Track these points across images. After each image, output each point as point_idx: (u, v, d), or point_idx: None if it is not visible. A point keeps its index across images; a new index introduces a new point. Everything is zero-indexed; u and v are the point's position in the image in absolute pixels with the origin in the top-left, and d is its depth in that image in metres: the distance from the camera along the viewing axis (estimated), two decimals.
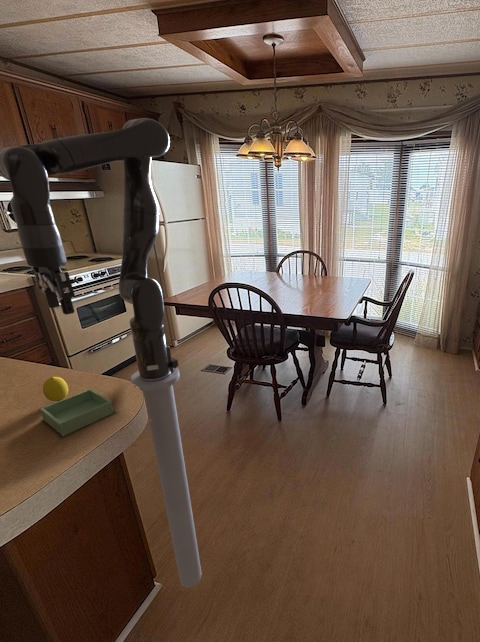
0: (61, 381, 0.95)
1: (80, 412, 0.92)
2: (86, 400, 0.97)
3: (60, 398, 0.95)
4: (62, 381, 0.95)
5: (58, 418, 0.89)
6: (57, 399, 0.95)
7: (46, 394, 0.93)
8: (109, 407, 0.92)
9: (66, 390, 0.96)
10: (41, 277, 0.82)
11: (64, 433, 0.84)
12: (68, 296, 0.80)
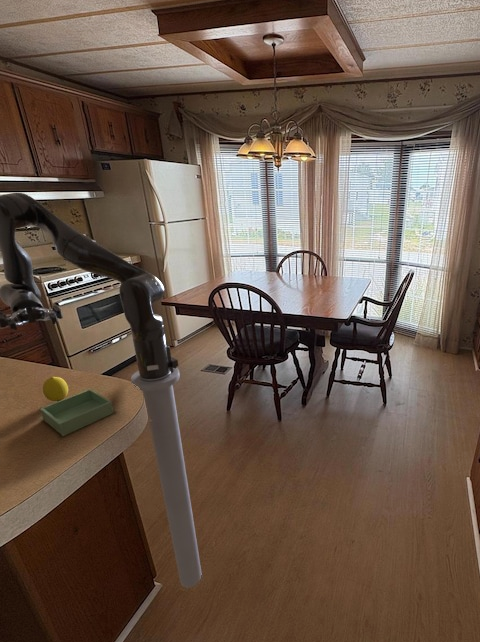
0: (61, 381, 0.95)
1: (80, 412, 0.92)
2: (86, 400, 0.97)
3: (60, 398, 0.95)
4: (62, 381, 0.95)
5: (58, 418, 0.89)
6: (57, 399, 0.95)
7: (46, 394, 0.93)
8: (109, 407, 0.92)
9: (66, 390, 0.96)
10: (36, 319, 1.03)
11: (64, 433, 0.84)
12: None
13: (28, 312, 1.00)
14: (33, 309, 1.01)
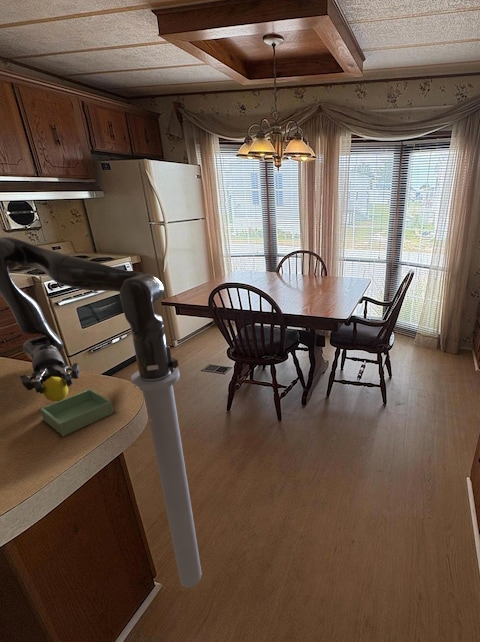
0: (61, 381, 0.95)
1: (80, 412, 0.92)
2: (86, 400, 0.97)
3: (60, 398, 0.95)
4: (62, 381, 0.95)
5: (58, 418, 0.89)
6: (57, 399, 0.95)
7: (46, 394, 0.93)
8: (109, 407, 0.92)
9: (66, 390, 0.96)
10: None
11: (64, 433, 0.84)
12: (26, 386, 0.93)
13: (48, 372, 0.98)
14: (54, 368, 0.99)
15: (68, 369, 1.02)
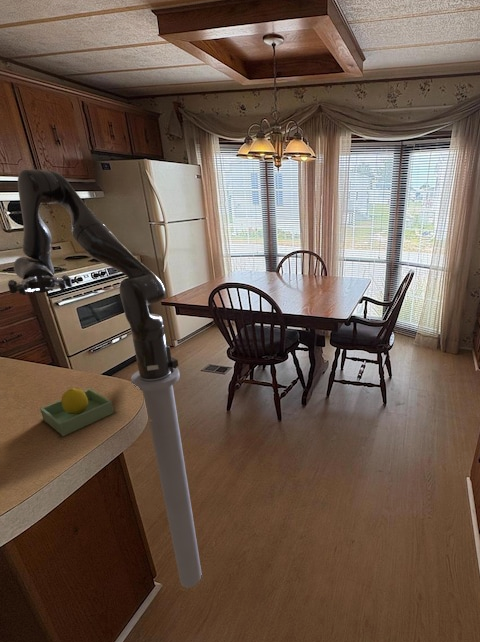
0: (81, 393, 0.89)
1: None
2: None
3: (80, 411, 0.89)
4: (82, 393, 0.89)
5: (58, 418, 0.89)
6: (77, 412, 0.89)
7: (65, 407, 0.87)
8: (109, 407, 0.92)
9: (86, 402, 0.90)
10: (46, 288, 1.02)
11: (64, 433, 0.84)
12: (9, 289, 0.94)
13: (38, 280, 1.00)
14: (43, 277, 1.01)
15: None
